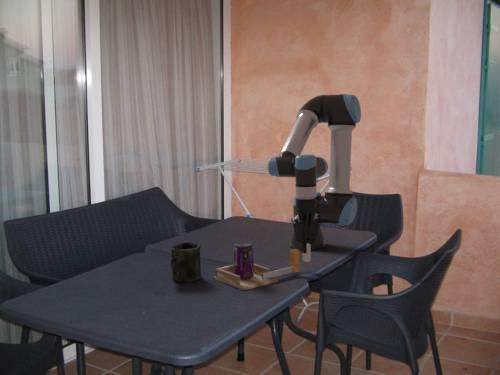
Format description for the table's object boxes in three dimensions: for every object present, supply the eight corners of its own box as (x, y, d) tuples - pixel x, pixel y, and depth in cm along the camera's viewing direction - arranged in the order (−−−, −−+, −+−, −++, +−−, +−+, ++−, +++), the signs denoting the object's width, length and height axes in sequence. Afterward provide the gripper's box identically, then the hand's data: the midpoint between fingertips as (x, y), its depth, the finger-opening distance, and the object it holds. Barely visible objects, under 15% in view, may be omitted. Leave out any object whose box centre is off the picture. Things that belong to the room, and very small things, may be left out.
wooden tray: (247, 270, 224) (246, 260, 224) (278, 281, 210) (278, 271, 209) (213, 278, 215) (213, 268, 215) (243, 290, 201) (243, 279, 200)
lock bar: (295, 270, 219) (295, 248, 218) (299, 271, 218) (299, 249, 216) (260, 278, 209) (260, 256, 208) (264, 280, 208) (263, 257, 207)
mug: (207, 275, 219) (206, 243, 217) (187, 287, 206) (185, 253, 204) (182, 272, 224) (180, 241, 222) (160, 283, 210) (158, 250, 209)
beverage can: (251, 280, 209) (250, 246, 207) (231, 279, 210) (230, 246, 209) (255, 274, 216) (254, 242, 214) (236, 274, 217) (235, 241, 216)
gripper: (312, 194, 224) (312, 256, 228) (285, 198, 216) (286, 262, 220) (326, 196, 218) (326, 260, 222) (299, 200, 210) (300, 266, 214)
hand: (306, 261), depth 221 cm, fingers closed
